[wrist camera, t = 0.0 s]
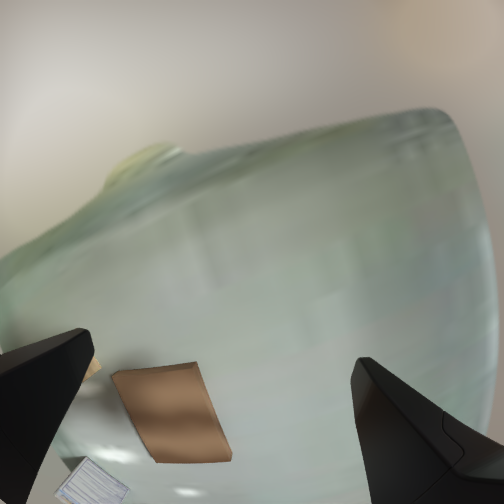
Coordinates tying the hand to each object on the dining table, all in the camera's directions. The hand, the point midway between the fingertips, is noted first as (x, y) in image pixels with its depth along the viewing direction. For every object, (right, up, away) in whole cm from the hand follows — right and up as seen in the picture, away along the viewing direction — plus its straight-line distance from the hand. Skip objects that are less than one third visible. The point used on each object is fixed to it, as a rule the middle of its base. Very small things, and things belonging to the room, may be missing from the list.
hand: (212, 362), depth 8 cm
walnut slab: (-7, -14, +17) cm, 23 cm away
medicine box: (-21, -29, +18) cm, 40 cm away
